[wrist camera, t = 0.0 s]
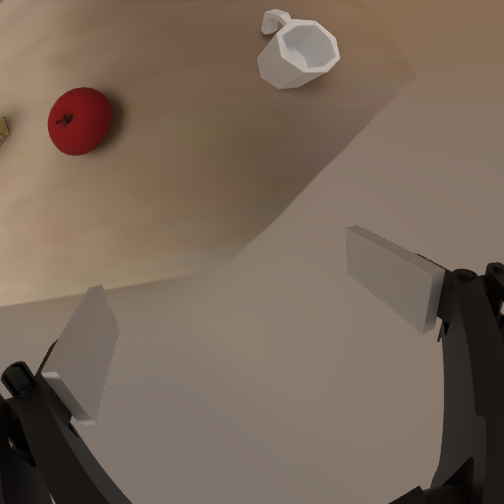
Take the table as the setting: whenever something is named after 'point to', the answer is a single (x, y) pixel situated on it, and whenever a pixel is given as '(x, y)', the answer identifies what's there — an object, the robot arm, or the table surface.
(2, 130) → the candy box
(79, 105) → the apple
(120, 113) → the table surface
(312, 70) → the mug
